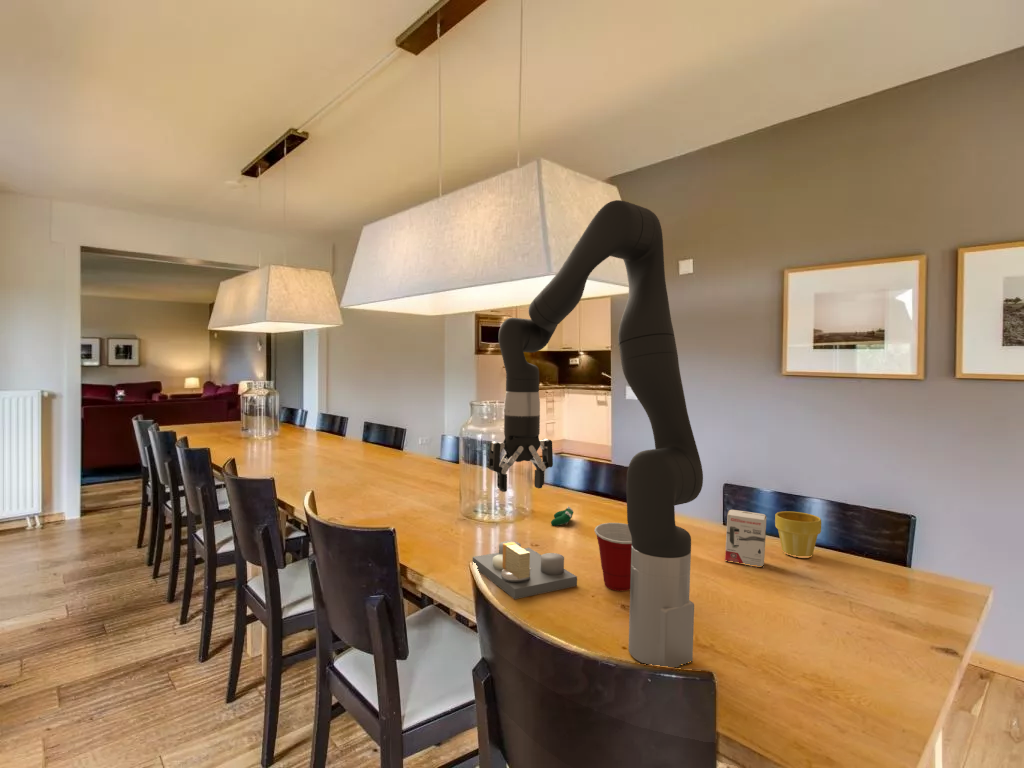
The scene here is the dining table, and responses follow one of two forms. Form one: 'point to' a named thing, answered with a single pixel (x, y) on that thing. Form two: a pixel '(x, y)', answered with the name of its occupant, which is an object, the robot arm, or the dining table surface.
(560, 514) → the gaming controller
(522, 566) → the wing knob
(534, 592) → the base
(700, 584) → the dining table surface
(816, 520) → the plant pot
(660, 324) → the robot arm
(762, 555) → the ink box
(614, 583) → the plastic cup
